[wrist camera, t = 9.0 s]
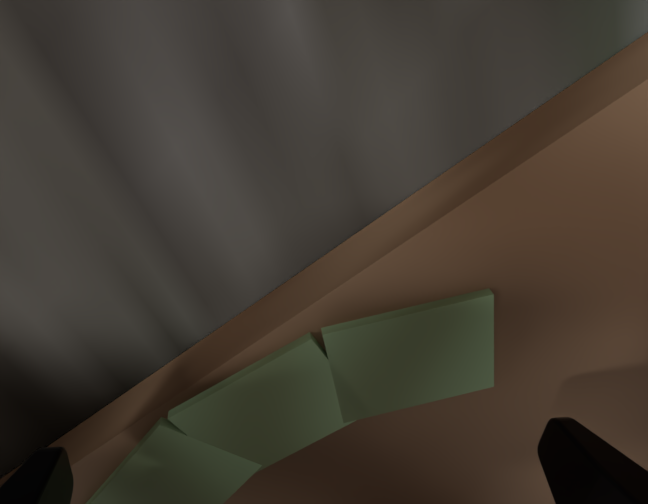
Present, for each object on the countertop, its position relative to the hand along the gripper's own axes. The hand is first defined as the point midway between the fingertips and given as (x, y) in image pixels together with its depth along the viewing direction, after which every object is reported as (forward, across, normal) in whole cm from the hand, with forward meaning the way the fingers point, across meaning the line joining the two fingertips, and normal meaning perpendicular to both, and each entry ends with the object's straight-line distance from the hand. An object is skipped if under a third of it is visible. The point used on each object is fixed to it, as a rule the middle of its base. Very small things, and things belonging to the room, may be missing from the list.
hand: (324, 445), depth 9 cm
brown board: (+2, -4, +7) cm, 8 cm away
